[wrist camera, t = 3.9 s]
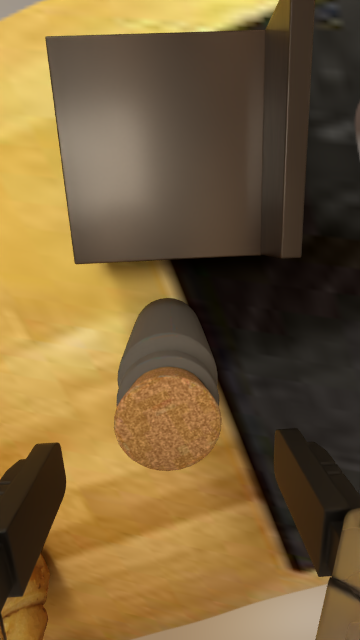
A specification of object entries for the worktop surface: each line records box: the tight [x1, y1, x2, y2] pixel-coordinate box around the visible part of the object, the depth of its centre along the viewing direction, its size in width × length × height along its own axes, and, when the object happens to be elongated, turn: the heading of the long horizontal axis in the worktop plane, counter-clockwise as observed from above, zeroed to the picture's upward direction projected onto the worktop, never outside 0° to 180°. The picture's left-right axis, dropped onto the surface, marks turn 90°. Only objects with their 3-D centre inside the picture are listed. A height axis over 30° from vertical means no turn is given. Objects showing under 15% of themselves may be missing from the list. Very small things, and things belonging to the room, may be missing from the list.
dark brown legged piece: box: [45, 0, 315, 264], centre depth 20 cm, size 14×13×9 cm
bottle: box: [114, 298, 221, 471], centre depth 21 cm, size 6×6×15 cm
